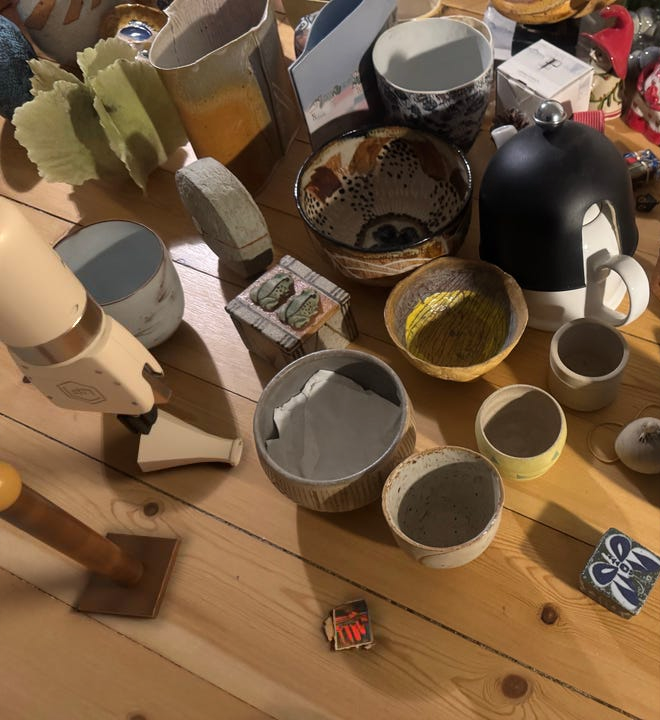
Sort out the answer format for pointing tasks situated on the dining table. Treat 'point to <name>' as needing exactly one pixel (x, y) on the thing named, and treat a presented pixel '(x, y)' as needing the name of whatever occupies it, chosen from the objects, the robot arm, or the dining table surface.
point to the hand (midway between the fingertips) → (146, 422)
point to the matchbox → (350, 625)
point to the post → (94, 551)
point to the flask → (183, 445)
